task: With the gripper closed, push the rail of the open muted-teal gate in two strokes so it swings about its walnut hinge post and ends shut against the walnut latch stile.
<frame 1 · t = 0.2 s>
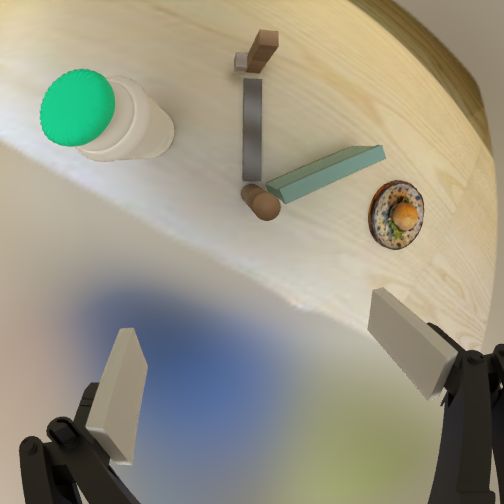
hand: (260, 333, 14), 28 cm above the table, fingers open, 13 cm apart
gate frame: (251, 193, 40), on the table
gate: (324, 169, 35), point 6 cm above the table, hinge at 65.0°
burger: (394, 213, 45), on the table
water bottle: (150, 133, 35), on the table
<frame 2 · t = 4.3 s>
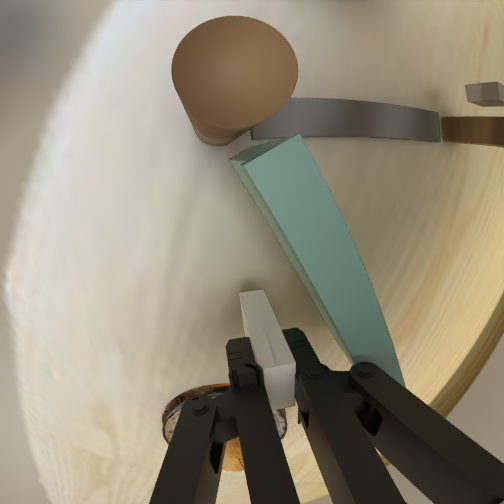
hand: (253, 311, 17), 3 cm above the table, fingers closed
gate frame: (217, 123, 15), on the table
gate: (325, 284, 14), point 5 cm above the table, hinge at 64.2°, touching gripper
burger: (224, 420, 24), on the table
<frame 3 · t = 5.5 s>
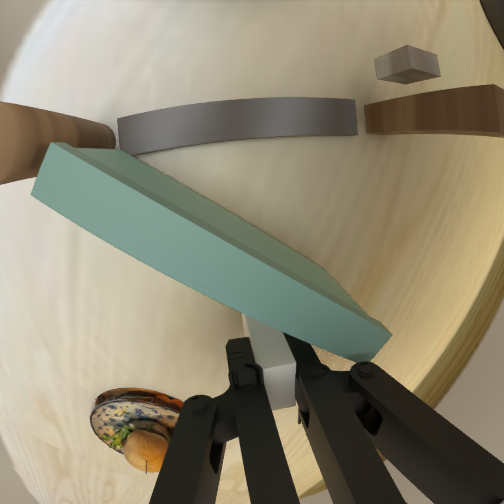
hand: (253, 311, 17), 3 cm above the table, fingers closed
gate frame: (95, 145, 15), on the table
gate: (226, 241, 12), point 6 cm above the table, hinge at 38.0°
burger: (149, 422, 23), on the table
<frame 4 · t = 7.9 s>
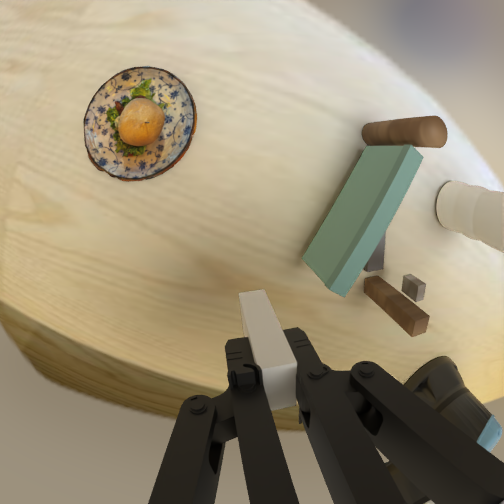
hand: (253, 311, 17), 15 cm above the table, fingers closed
gate frame: (372, 134, 29), on the table
gate: (358, 211, 25), point 6 cm above the table, hinge at 35.0°
burger: (140, 124, 25), on the table
water bottle: (448, 204, 33), on the table
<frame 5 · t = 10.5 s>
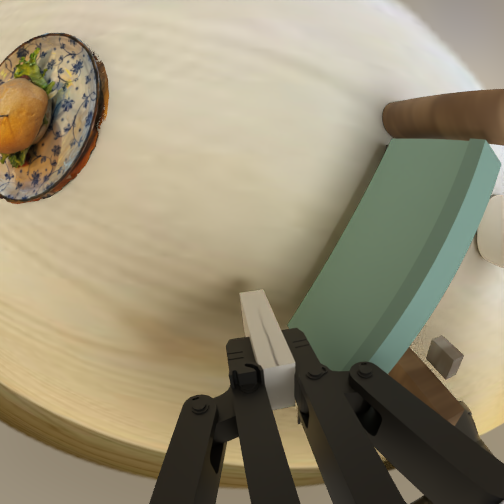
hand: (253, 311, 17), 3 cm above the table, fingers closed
gate frame: (397, 120, 17), on the table
gate: (384, 259, 14), point 6 cm above the table, hinge at 32.3°, touching gripper
burger: (38, 117, 14), on the table
water bottle: (490, 226, 22), on the table
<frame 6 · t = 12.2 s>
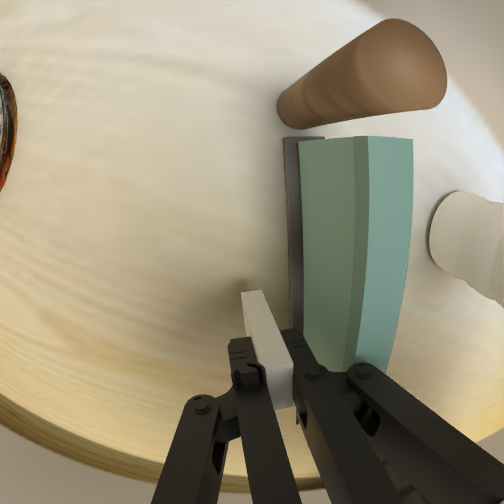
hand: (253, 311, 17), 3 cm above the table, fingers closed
gate frame: (299, 107, 16), on the table
gate: (339, 288, 14), point 6 cm above the table, hinge at -0.4°, touching gripper
water bottle: (451, 228, 20), on the table
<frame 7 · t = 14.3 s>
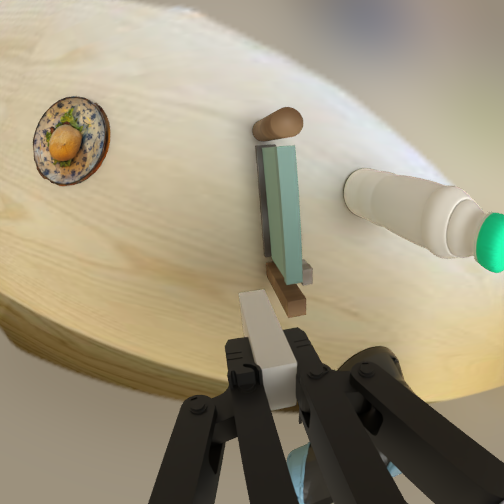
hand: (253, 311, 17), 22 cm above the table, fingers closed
gate frame: (263, 130, 33), on the table
gate: (281, 210, 32), point 6 cm above the table, hinge at -0.8°
burger: (72, 141, 30), on the table
water bottle: (362, 191, 39), on the table
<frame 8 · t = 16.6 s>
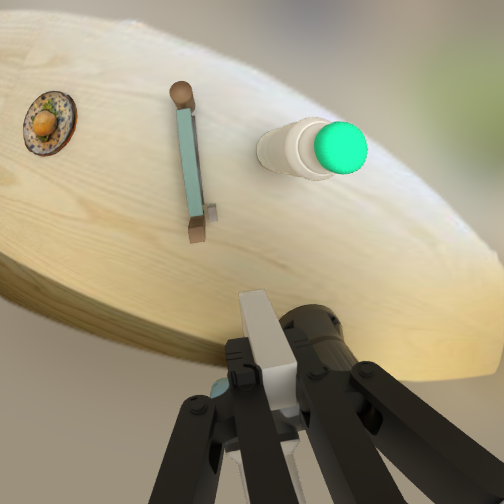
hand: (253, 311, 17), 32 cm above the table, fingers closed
gate frame: (186, 106, 40), on the table
gate: (190, 161, 38), point 5 cm above the table, hinge at -0.8°
burger: (51, 123, 37), on the table
water bottle: (276, 150, 45), on the table
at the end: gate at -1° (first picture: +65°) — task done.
